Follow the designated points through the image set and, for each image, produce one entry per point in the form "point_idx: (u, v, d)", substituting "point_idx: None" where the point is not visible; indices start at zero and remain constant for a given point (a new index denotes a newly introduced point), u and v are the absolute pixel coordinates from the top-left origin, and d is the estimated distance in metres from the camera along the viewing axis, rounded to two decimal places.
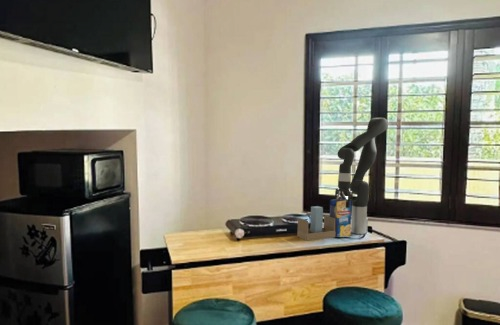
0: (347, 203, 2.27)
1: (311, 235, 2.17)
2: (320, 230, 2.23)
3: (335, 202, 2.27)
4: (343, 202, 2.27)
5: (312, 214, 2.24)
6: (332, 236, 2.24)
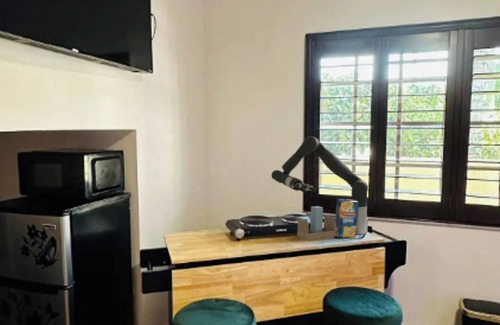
0: (301, 190, 2.30)
1: (311, 235, 2.17)
2: (320, 230, 2.23)
3: (340, 202, 2.25)
4: (349, 203, 2.24)
5: (312, 214, 2.24)
6: (332, 236, 2.24)
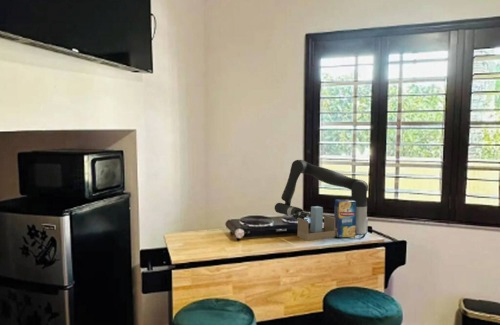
0: None
1: (311, 235, 2.17)
2: (320, 230, 2.23)
3: (338, 202, 2.26)
4: (346, 203, 2.25)
5: (312, 214, 2.24)
6: (332, 236, 2.24)
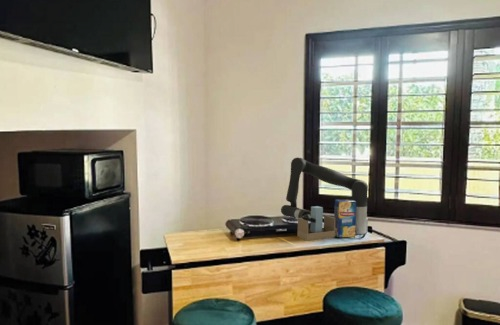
0: None
1: (311, 235, 2.17)
2: (320, 230, 2.23)
3: (338, 202, 2.26)
4: (346, 203, 2.25)
5: (312, 214, 2.24)
6: (332, 236, 2.24)
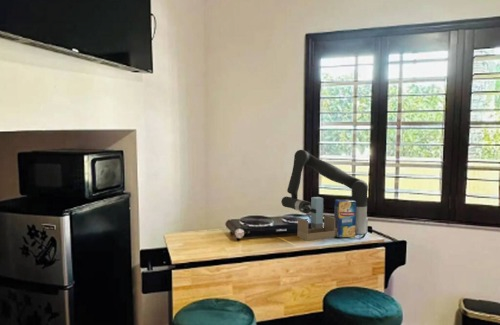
0: (312, 212, 2.23)
1: (311, 235, 2.17)
2: (321, 221, 2.23)
3: (338, 202, 2.26)
4: (346, 203, 2.25)
5: (312, 205, 2.23)
6: (332, 236, 2.24)
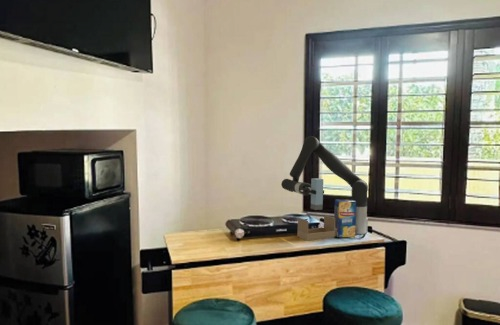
0: (312, 193, 2.22)
1: (311, 235, 2.17)
2: (320, 202, 2.22)
3: (338, 202, 2.26)
4: (346, 203, 2.25)
5: (312, 186, 2.23)
6: (332, 236, 2.24)
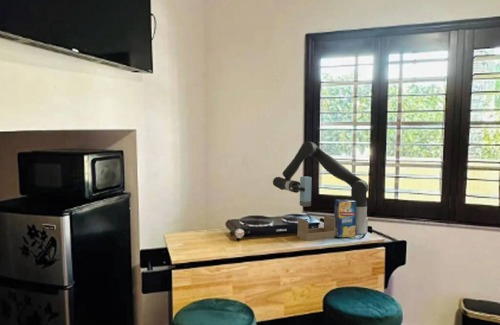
0: (301, 190, 2.33)
1: (311, 235, 2.17)
2: (309, 199, 2.33)
3: (338, 202, 2.26)
4: (346, 203, 2.25)
5: (301, 184, 2.34)
6: (332, 236, 2.24)
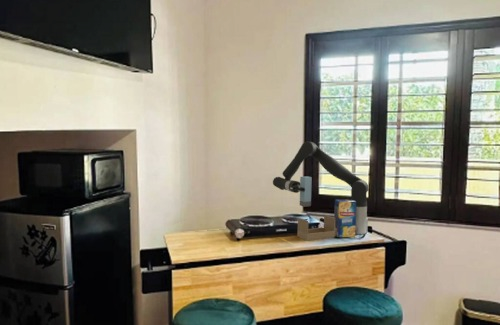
0: (301, 190, 2.33)
1: (311, 235, 2.17)
2: (309, 199, 2.33)
3: (338, 202, 2.26)
4: (346, 203, 2.25)
5: (301, 184, 2.34)
6: (332, 236, 2.24)
